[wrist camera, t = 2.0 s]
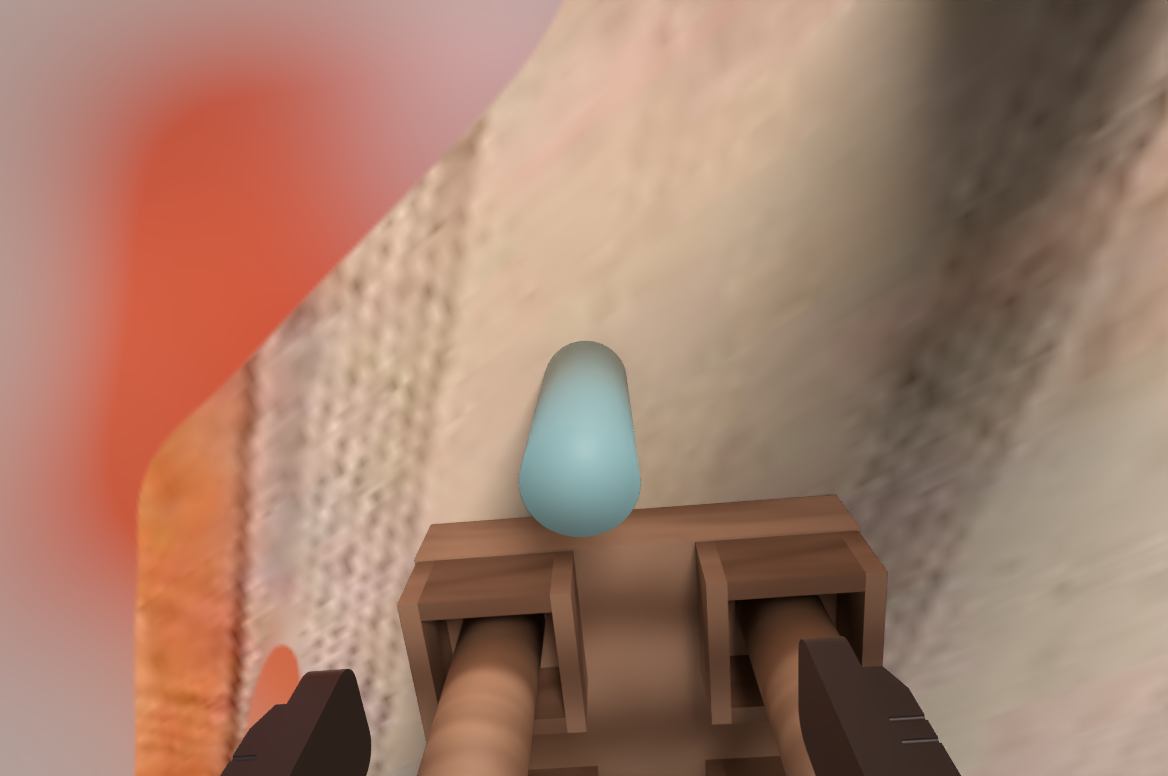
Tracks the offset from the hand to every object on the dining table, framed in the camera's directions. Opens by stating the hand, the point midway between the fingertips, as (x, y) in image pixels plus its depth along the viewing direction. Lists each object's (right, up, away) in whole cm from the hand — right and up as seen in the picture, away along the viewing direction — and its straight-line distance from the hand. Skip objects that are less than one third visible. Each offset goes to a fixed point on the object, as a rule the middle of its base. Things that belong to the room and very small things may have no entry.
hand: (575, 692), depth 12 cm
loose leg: (0, +6, +17) cm, 18 cm away
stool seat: (+3, -9, +22) cm, 24 cm away
